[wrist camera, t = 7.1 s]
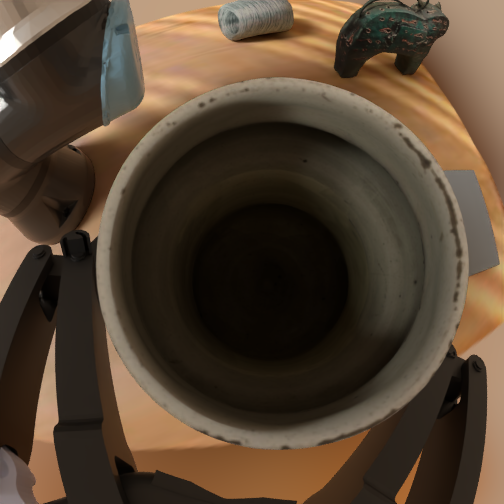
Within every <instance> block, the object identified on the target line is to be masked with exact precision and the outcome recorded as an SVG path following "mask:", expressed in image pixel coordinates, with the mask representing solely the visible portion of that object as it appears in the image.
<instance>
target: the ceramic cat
mask: <svg viewBox="0 0 504 504" xmlns="http://www.w3.org/2000/svg"><path fill="white" fill-rule="evenodd" d="M375 1H378V0H369V1H368V2H367V3H366V4H364V6H363V7H362V8H360V9H358V10H357V11H356V12H355V13H354V14H353V15H351V17H350V18H349V19H348V20H347V22H346V23H345V24H344V26H343V27H342V29H341V30H340V33H339V36H338V39H337V43H336V57H335V64H334V68H335V70H336V71H337V72H338V73H339V75H340V76H341V77H342V78H350V77H354V76H357V74H358V71H359V70H360V68H361V67H362V66H363V64H364V63H365V62H366V61H367V60H368V59H370V58H371V57H373V56H375V55H377V54H379V53H382V52H387V53H396V54H397V56H396V59H395V66H396V67H397V68H398V69H399V70H400V72H401V73H402V74H403V75H405V74H414V73H415V71H416V70H417V69H418V67H419V66H420V64H421V62H422V61H423V59H424V58H425V57H426V56H427V54H428V53H429V50H430V48H431V46H432V45H433V43H434V41H436V39H438V38H439V37H441V36H443V35H444V34H445V33H446V31H447V29H448V27H449V20H448V18H447V17H446V16H445V15H444V14H443V13H442V11H441V5H440V2H438V3H437V4H436V5H432V4H430V3H429V0H427V2H422V1H421V0H417V1H418V3H415V4H413V5H412V6H411V7H409V6H407V5H405V4H403V3H402V2H400V1H399V0H394V1H397V2H398V3H397V2H389V3H386V2H375ZM373 2H375V3H373Z"/></svg>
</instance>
